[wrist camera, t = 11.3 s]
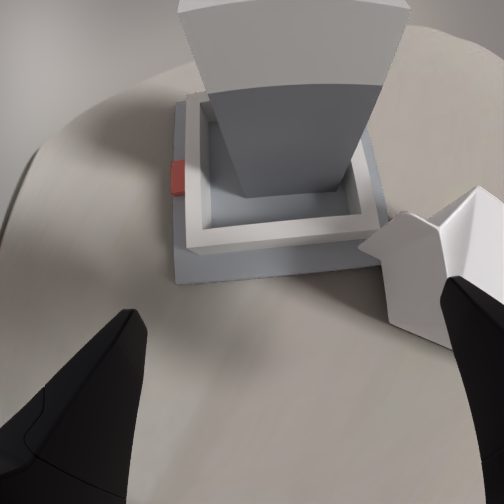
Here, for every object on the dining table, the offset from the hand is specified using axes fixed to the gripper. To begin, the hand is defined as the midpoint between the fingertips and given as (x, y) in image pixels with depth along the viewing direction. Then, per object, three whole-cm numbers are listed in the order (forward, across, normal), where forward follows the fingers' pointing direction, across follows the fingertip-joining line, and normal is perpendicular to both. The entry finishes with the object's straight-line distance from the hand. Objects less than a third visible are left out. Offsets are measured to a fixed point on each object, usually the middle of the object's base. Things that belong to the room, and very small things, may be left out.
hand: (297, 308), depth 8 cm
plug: (+11, -1, 0) cm, 11 cm away
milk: (-2, -23, +9) cm, 25 cm away
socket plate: (+11, 0, 0) cm, 11 cm away
